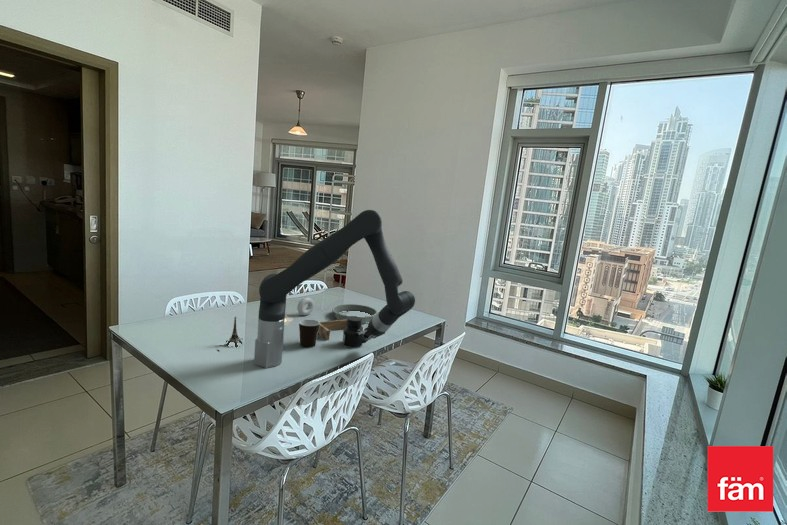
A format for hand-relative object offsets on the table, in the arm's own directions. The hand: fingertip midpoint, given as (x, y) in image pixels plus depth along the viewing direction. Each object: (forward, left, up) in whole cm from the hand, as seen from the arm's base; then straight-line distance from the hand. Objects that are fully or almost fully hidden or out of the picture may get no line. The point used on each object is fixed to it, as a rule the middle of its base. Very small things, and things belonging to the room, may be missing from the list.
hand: (362, 341), depth 160 cm
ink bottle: (+4, +7, -5) cm, 9 cm away
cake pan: (+38, +27, -5) cm, 47 cm away
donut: (+22, +48, -5) cm, 53 cm away
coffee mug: (-8, +22, -5) cm, 24 cm away
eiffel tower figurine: (-28, +44, -5) cm, 53 cm away
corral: (+11, +19, -4) cm, 22 cm away
